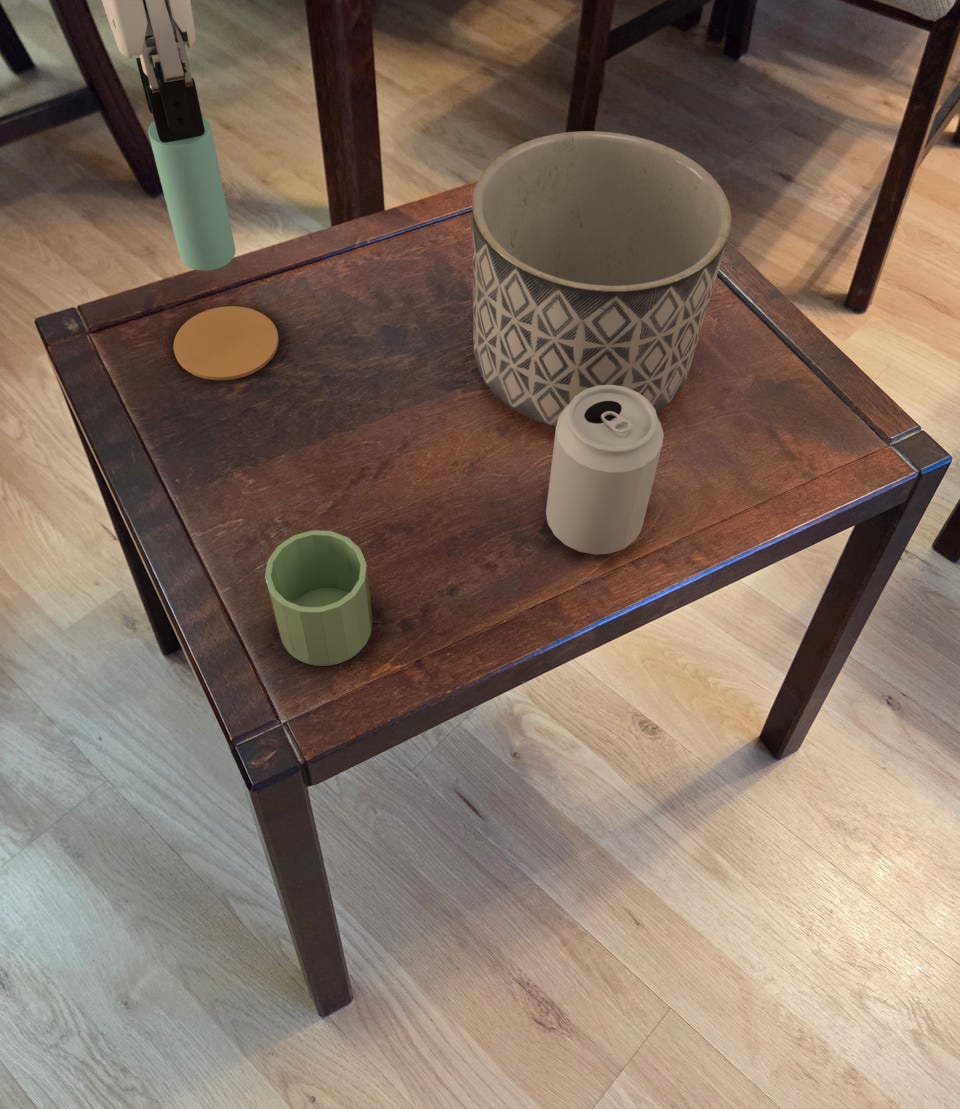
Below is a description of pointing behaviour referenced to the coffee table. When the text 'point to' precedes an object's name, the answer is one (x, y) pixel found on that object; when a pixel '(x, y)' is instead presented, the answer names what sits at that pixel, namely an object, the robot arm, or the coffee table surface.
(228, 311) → the coaster
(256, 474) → the coffee table surface
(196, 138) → the bottle
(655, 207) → the planter
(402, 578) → the coffee table surface
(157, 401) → the coffee table surface
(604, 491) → the can
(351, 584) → the holder
